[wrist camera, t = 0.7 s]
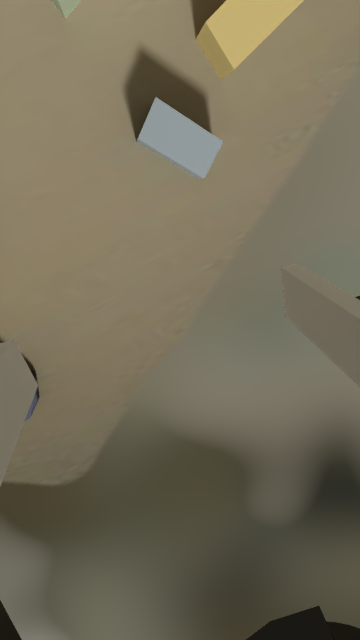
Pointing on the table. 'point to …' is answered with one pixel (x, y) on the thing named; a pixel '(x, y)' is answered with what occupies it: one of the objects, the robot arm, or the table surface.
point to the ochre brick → (240, 30)
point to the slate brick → (179, 139)
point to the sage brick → (66, 6)
